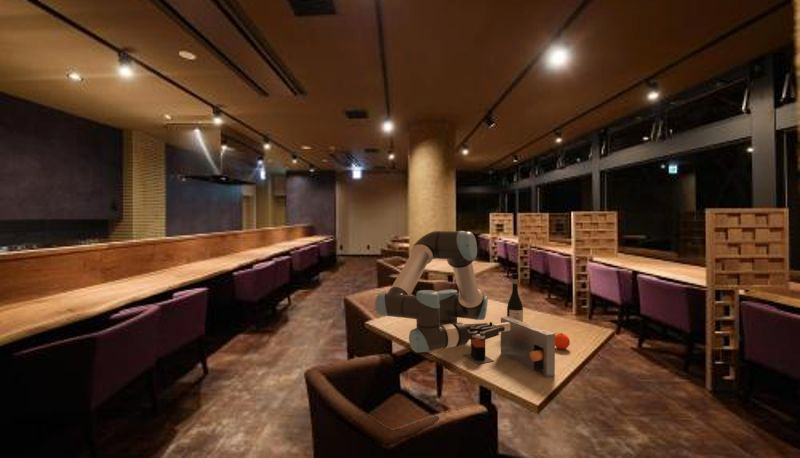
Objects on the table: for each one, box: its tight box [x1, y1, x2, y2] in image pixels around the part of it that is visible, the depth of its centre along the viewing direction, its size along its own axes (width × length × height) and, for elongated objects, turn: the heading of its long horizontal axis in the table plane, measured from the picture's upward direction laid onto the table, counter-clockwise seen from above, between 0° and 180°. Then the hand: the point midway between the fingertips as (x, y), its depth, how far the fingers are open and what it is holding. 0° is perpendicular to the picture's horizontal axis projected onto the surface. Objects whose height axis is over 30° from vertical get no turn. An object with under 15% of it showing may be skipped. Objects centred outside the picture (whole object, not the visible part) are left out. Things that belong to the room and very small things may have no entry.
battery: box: [470, 338, 486, 361], centre depth 154 cm, size 4×7×10 cm, turn 7°
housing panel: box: [500, 316, 556, 379], centre depth 148 cm, size 26×4×16 cm, turn 24°
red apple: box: [555, 332, 571, 350], centre depth 165 cm, size 8×7×7 cm
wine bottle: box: [506, 272, 524, 322], centre depth 192 cm, size 8×8×30 cm
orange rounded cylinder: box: [530, 350, 544, 361], centre depth 139 cm, size 4×5×4 cm
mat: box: [462, 352, 494, 366], centre depth 154 cm, size 11×8×1 cm
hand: (508, 326), depth 132 cm, fingers closed
